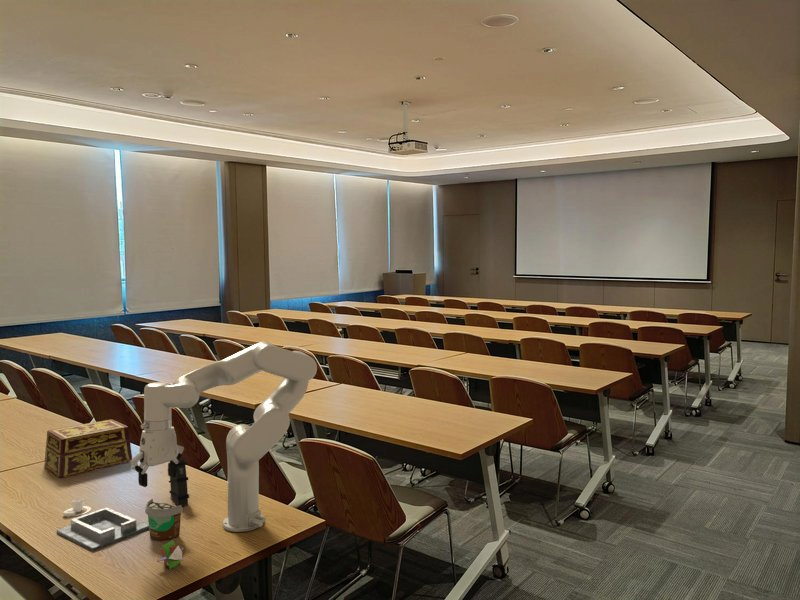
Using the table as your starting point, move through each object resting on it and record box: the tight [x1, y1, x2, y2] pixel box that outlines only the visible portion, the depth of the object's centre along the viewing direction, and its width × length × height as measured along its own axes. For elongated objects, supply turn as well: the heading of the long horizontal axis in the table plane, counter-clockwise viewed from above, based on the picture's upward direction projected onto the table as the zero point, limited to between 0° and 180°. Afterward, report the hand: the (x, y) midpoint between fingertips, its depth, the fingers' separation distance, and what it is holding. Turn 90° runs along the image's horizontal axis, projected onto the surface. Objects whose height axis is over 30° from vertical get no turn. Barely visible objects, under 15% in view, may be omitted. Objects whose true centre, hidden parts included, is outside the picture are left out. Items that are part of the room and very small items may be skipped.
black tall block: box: [168, 458, 190, 507], centre depth 207 cm, size 4×13×15 cm, turn 35°
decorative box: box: [43, 418, 133, 479], centre depth 243 cm, size 28×19×15 cm
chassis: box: [56, 507, 149, 552], centre depth 183 cm, size 20×18×4 cm
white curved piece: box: [62, 498, 92, 517], centre depth 197 cm, size 9×8×4 cm
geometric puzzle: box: [156, 539, 186, 571], centre depth 163 cm, size 7×7×8 cm
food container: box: [144, 498, 184, 542], centre depth 179 cm, size 12×6×10 cm, turn 68°
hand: (158, 481), depth 178 cm, fingers open, 9 cm apart
